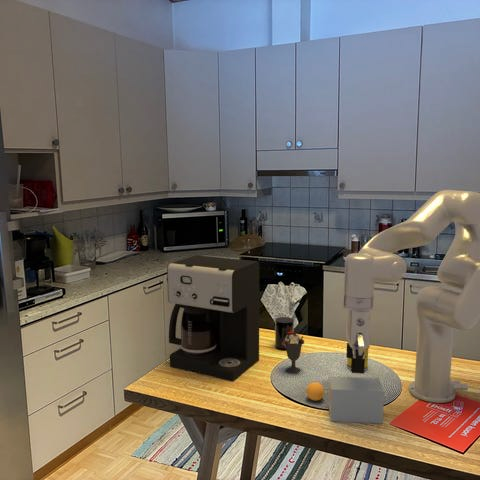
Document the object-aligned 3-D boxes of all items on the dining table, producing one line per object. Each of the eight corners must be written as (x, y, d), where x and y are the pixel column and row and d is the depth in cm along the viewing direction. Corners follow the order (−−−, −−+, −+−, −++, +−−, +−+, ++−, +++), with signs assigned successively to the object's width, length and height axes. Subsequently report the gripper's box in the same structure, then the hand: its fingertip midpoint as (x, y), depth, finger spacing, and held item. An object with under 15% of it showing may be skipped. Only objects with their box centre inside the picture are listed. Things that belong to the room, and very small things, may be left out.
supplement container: (278, 351, 173) (278, 323, 171) (272, 344, 179) (272, 317, 177) (296, 349, 174) (296, 321, 173) (289, 343, 181) (289, 316, 179)
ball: (323, 395, 140) (323, 379, 139) (324, 404, 135) (325, 387, 134) (305, 395, 140) (306, 378, 139) (306, 403, 135) (306, 386, 134)
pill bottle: (344, 369, 157) (345, 335, 155) (350, 362, 163) (351, 329, 161) (364, 373, 154) (366, 338, 152) (369, 366, 160) (371, 332, 158)
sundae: (279, 368, 159) (279, 324, 156) (297, 365, 161) (298, 321, 159) (288, 376, 152) (288, 330, 150) (307, 373, 155) (308, 328, 152)
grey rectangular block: (377, 408, 132) (378, 378, 131) (382, 423, 125) (384, 391, 123) (328, 406, 134) (329, 376, 132) (330, 421, 126) (331, 389, 125)
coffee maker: (158, 365, 161) (155, 262, 156) (190, 345, 178) (188, 252, 173) (232, 382, 148) (231, 271, 143) (259, 359, 165) (259, 259, 160)
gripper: (379, 312, 115) (375, 380, 118) (367, 293, 132) (364, 353, 135) (347, 310, 116) (344, 378, 119) (339, 292, 133) (336, 351, 136)
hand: (354, 364), depth 127 cm, fingers open, 9 cm apart
